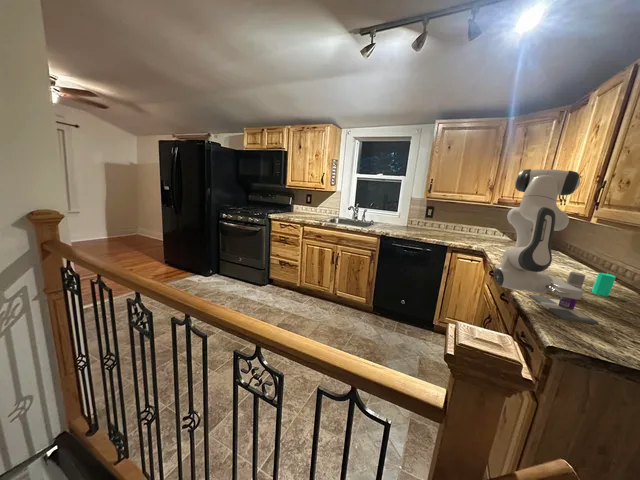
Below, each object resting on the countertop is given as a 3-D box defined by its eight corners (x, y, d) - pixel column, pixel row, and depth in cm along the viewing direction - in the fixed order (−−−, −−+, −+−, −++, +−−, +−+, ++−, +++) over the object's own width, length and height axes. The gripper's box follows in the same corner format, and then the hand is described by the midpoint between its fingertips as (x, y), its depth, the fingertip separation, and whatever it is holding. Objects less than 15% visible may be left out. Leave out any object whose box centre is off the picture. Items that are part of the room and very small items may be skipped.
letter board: (528, 296, 116) (529, 294, 116) (557, 300, 114) (558, 298, 114) (562, 319, 97) (563, 316, 96) (597, 324, 95) (598, 321, 95)
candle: (596, 294, 127) (605, 272, 124) (588, 290, 132) (596, 268, 130) (611, 297, 125) (620, 274, 122) (602, 292, 131) (611, 270, 128)
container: (576, 311, 102) (589, 276, 99) (563, 309, 103) (575, 274, 100) (567, 305, 107) (579, 272, 103) (555, 303, 108) (566, 270, 104)
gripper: (560, 284, 94) (602, 290, 92) (525, 267, 113) (558, 271, 112) (554, 300, 95) (595, 306, 93) (521, 280, 115) (554, 284, 113)
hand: (575, 287), depth 103 cm, fingers closed on container, 5 cm apart
